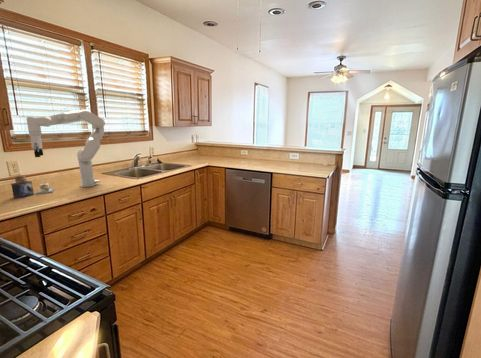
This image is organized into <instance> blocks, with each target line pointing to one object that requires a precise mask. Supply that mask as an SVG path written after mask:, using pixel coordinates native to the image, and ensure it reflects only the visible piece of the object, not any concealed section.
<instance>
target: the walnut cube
mask: <svg viewBox="0 0 481 358" xmlns="http://www.w3.org/2000/svg"><path fill="white" fill-rule="evenodd" d="M26 176H27V175H25V174H20V175H15V176H14V181H15V183H16V184H17V183H25V182H26V181H27V177H26Z"/></svg>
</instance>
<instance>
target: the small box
mask: <svg viewBox="0 0 481 358" xmlns="http://www.w3.org/2000/svg"><path fill="white" fill-rule="evenodd" d="M32 182H33V181H29V180H26V182H25V183H17V184H16V182H14V183H11V184H10V186H11V188H12V189H11V190H12V195H13V198H15V199H22V198H25V197H29V196H33V195H34V194H35V193H34V188H33V183H32Z"/></svg>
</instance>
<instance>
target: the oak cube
mask: <svg viewBox="0 0 481 358" xmlns="http://www.w3.org/2000/svg"><path fill="white" fill-rule="evenodd" d="M50 189H51V187H50V183H49V182H48V183H41V184H39V190H41V191H49V190H50Z"/></svg>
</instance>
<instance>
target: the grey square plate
mask: <svg viewBox="0 0 481 358" xmlns="http://www.w3.org/2000/svg"><path fill="white" fill-rule="evenodd" d="M54 191H55V188H50V190H49V191H41V189H38V191H37V192H36V195H41V194H50V193H53V192H54Z"/></svg>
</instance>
